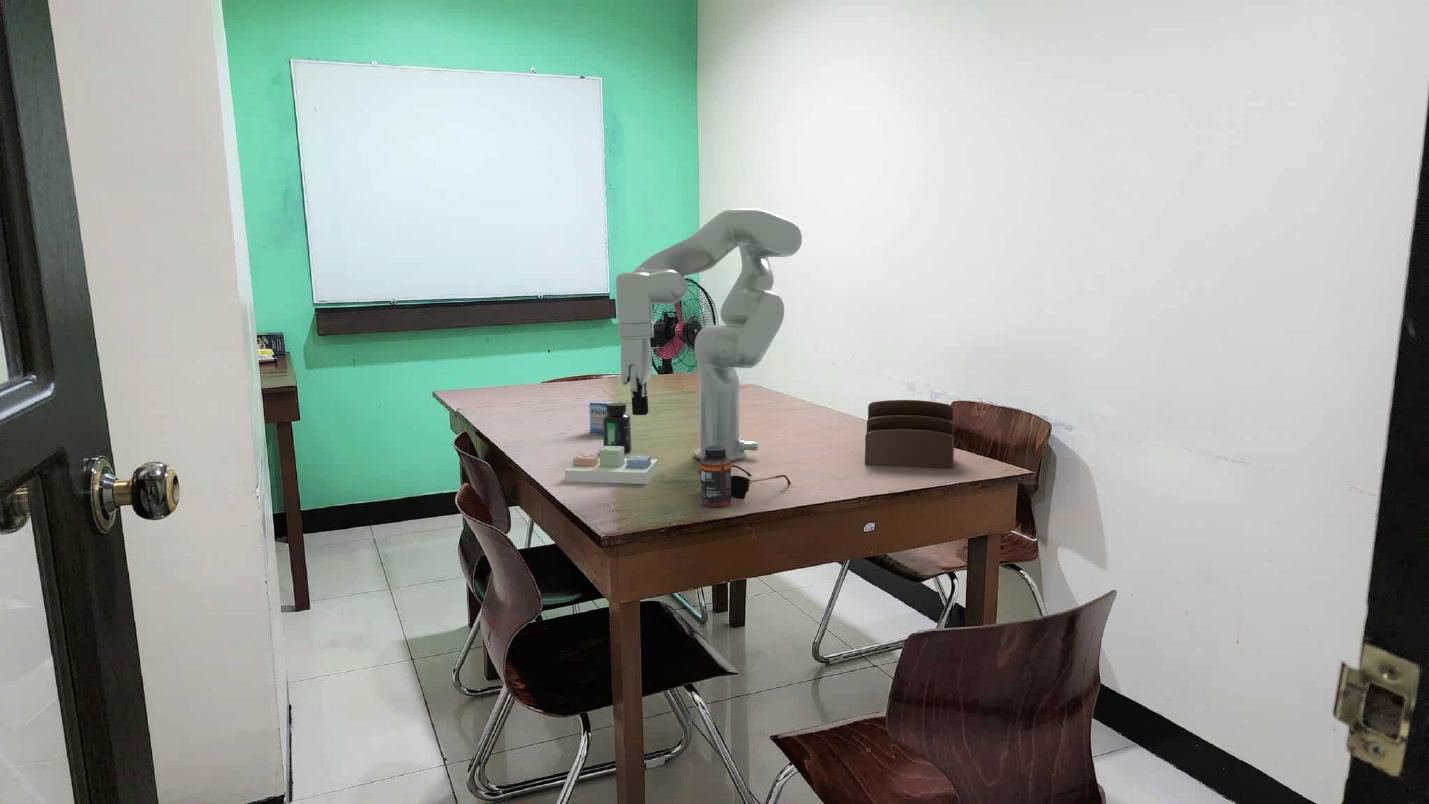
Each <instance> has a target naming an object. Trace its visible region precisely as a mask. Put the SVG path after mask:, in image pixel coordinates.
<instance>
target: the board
mask: <svg viewBox="0 0 1429 804" xmlns="http://www.w3.org/2000/svg"><path fill="white" fill-rule="evenodd" d="M627 459H628V458H624V460H625V464H624V465H623V466H622V467H621V468H610V467H600V457H598V462H599V463H598V464H597V465H596V466H594V467H575V466H573V463H572V464H571V465H569V466H568V467H567V468H565V470H564V482H573V483H574V482H575V483H600V484H601V483H602V484H604V483H605V484H632V485H635V484H636V485H647V484H648V483H649V481H650V480H652V478H653V477H654V476H655V475H656V474H657V473H658V471H659V459H658V458H656V459H654V458H651V465H650V466H649V467H648V469H645V468H627V461H626V460H627Z"/></svg>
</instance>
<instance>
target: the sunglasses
mask: <svg viewBox="0 0 1429 804" xmlns="http://www.w3.org/2000/svg"><path fill="white" fill-rule="evenodd" d="M731 468H737V469H739V470H741V471H742V472H744V473H745V474H746V475H747V476H748V477H752V476H753V474H751V473H750V472H749V471H747V470H745V469H743V468H742V467H740V466H739V465H734V464H731ZM697 473H698V474H699V482H700V483H701V468H700V469H698V470H697ZM783 477H784V478H785V479H786V481H787V484H788V485H791V484H792V483H791V480H790V479H789V478H788V477H787V475H785V474H780V475H775V476H770V477H765V478H760V479H750V478H747V477H745V476H742V475H731V496H732V498H733V499H734V498H735V499H740V500H745V498H746V496H747V492H749V490H750V485H751V484H753V483H757V482H762V481H763V482H764V481H767V480H773V479H778V478H783Z"/></svg>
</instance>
